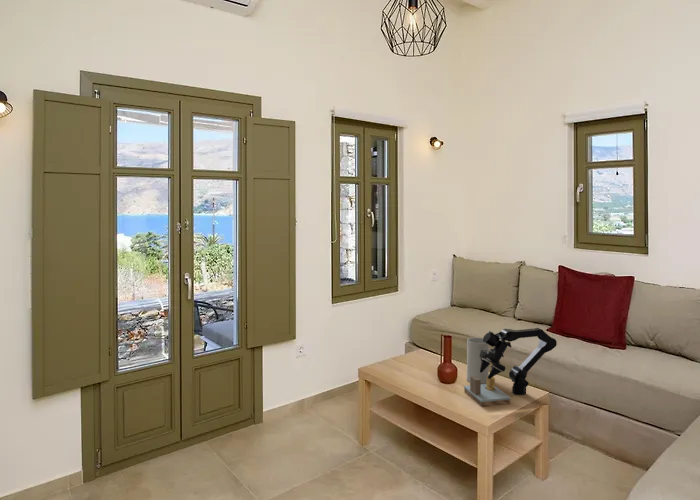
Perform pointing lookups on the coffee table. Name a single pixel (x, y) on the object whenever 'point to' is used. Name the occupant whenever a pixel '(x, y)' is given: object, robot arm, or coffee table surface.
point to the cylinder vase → (476, 359)
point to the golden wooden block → (490, 384)
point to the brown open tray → (489, 403)
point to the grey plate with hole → (484, 391)
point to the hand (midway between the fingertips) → (484, 375)
